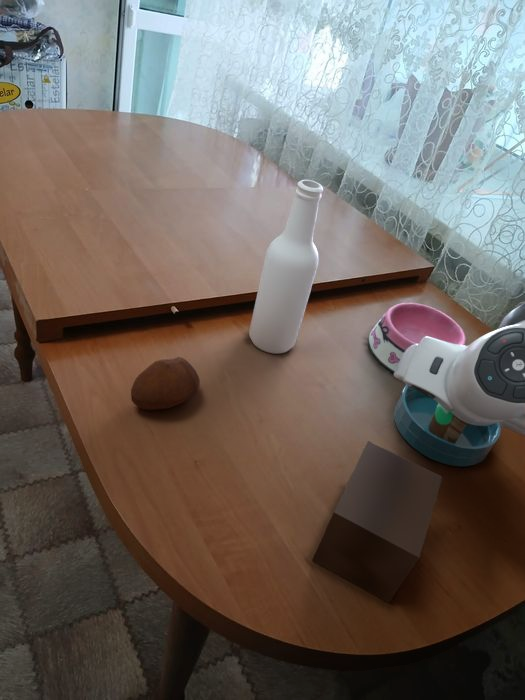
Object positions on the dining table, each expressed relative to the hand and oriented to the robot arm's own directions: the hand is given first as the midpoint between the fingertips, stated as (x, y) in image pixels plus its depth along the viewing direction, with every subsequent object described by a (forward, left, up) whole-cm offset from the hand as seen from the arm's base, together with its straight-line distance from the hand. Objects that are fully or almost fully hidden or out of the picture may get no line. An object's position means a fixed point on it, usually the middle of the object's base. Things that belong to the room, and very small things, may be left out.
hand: (461, 400), depth 78 cm
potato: (+39, +16, -12) cm, 43 cm away
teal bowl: (0, -6, -12) cm, 13 cm away
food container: (0, -6, -11) cm, 13 cm away
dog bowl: (+9, -24, -12) cm, 28 cm away
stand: (+4, +21, -12) cm, 24 cm away
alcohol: (+33, -9, -12) cm, 36 cm away
